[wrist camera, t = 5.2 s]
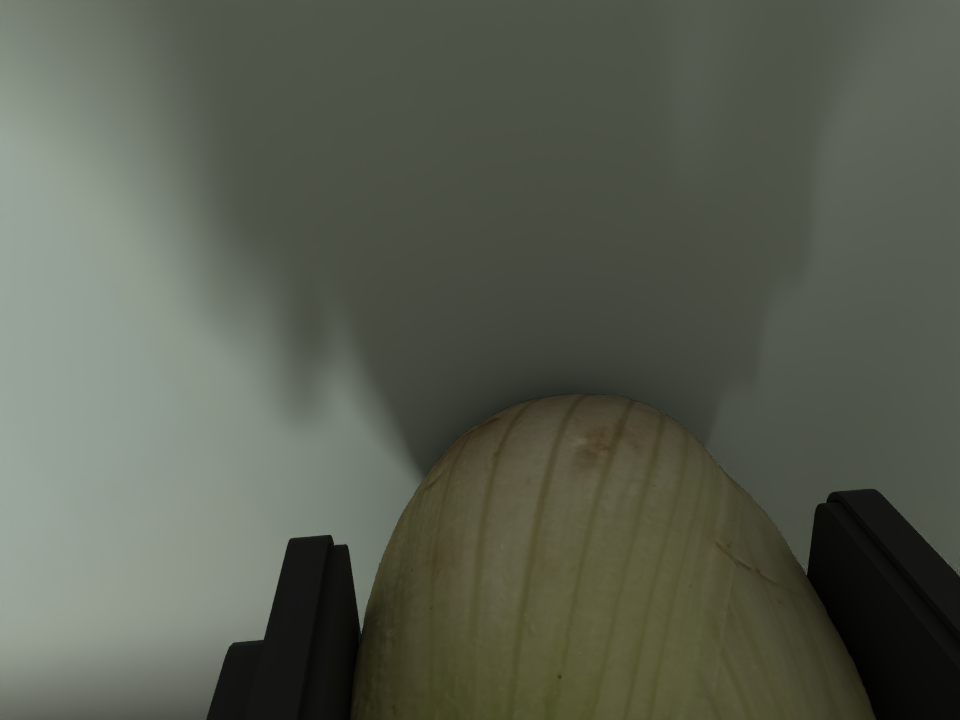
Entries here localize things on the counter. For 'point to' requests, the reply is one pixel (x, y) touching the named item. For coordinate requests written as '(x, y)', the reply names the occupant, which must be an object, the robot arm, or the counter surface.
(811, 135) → the counter surface
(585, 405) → the fennel bulb
